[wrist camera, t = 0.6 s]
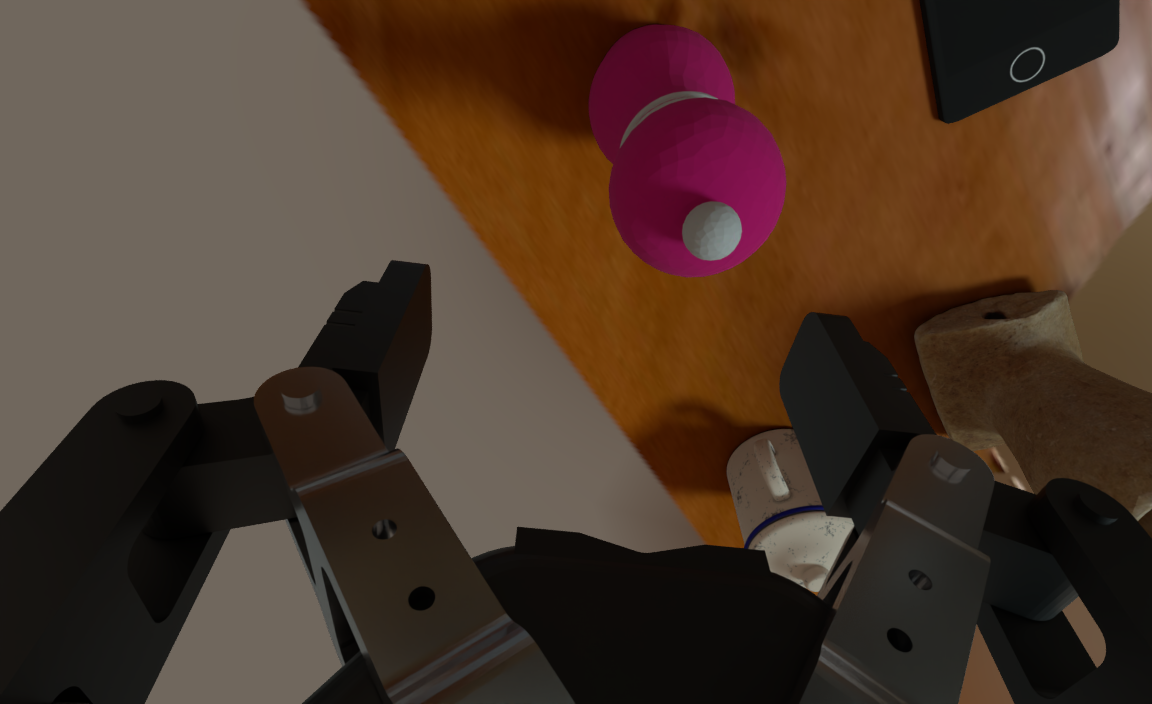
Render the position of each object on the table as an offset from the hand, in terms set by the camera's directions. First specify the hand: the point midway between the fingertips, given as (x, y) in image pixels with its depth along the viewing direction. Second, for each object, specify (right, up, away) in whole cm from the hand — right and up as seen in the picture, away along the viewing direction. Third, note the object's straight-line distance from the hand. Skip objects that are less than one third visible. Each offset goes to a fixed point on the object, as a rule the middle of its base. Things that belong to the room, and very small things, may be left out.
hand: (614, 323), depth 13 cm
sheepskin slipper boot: (+31, -1, +32) cm, 45 cm away
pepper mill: (+3, +14, +21) cm, 26 cm away
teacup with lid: (+16, -9, +38) cm, 42 cm away
